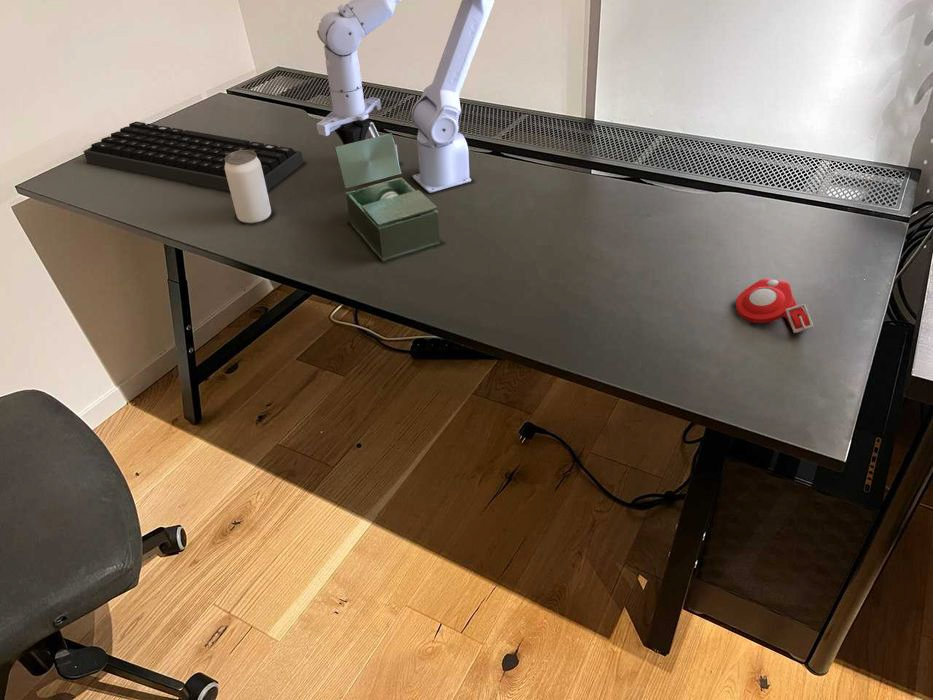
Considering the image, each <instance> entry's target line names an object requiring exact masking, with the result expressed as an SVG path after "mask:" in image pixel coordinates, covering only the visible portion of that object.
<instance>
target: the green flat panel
mask: <svg viewBox="0 0 933 700" xmlns="http://www.w3.org/2000/svg"><path fill="white" fill-rule="evenodd" d="M394 144H395V141H394V137H393V133H392V132H389V133H386V134H382V135H379V136H378V137H374V138H370V139H369V138H367V139H366V138H365V140H362V141H358V142H354V143H349V144H345V145H344V144H341V145H337V146H334V151H335V155H336V159H337V163H338V167H339V170H340V174H341V178H342V182H343V187H344V189H346V190H347V189H350V188H353V187H358V186H361V185H364V184H368V183H372V182H377V181H380V180H384V179H387V178H391V177H394V176H398V175H401V174H402V171H401V167H400V163H399V162H400V161H399V157H398V158H397V153H396V149H395V145H394Z"/></svg>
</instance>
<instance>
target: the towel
mask: <svg viewBox="0 0 933 700" xmlns="http://www.w3.org/2000/svg"><path fill="white" fill-rule="evenodd" d="M398 195H399V194H397V193H396V192H387V193H385V194H384V195H383V196H382V197H381V199H380V201H381V200H384V199H388V198H391V197H395V196H398ZM412 217H413V216H412ZM412 217H408V218H405V219H409V218H412ZM405 219H402V220H405ZM402 220H398V221H402ZM398 221H395V222H398ZM395 222H392V223H395Z"/></svg>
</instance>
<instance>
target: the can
mask: <svg viewBox="0 0 933 700" xmlns="http://www.w3.org/2000/svg"><path fill="white" fill-rule="evenodd" d="M225 161H226V162H225V172H226V176H227V180H228V184H229V188H230V191H229V192H230V196H231V200H232V203H233V208H234V211H235V214H236V219H237V220H239V221H240V222H241V223H244V224H257V223H261V222H264V221H266V220H268V219H269V218H270V216H271V214H272V207H271V203H270V199H269V194H268V193H269V192H268V191H267V189H266V184H265V180H264V175H263V171H262V166H261V162H260V160H259V159H258V158H257V155H256V153H255V152H253V151H250V150H240V151H235V152H232V153H230V154H228V155H227V156H226V157H225Z"/></svg>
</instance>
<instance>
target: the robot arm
mask: <svg viewBox="0 0 933 700" xmlns="http://www.w3.org/2000/svg"><path fill="white" fill-rule="evenodd" d="M402 1H403V0H350V1H349V2H347V3H346V4H344V5H343V4H340V5H339V6H338V7H337V10H338V11H330V12H327V13H325V15H323V16H322V17H321V19H320V20H319V21H320V22H319V23H318V28H317V30H316V33H317V37H318V38H319V40H320V41H321V43H322V44H323V45H324V46H323V48H324V56H325V67H326V74H327V80H328V87H329V93H330V100H331V107H332V110H331V112H330V113H328V114H327V115H326V116H325V117H324V118H323V119H322V120H320V121H318V122H317V123H316V130H317V134H318V135H321V136H324V137H328V136H330V133H331V132H333V131H334V132H335V133H336V135H337V136H338V138H339V139H340V140H341V142H342V145H345V144H349V143H354V142H358V141H362V140H366V138H367V137H366V136H367V131H368V129H369V127H370V123H371V120H370V119H369V117H370V116H369V113H371V112H374V111H380V110H382V104H381V98H378V97H374V96H371V97H368V98H366V99H365V98H364V90H363V83H362V73H361V66H360V59H359V55H358V49H359V47H360V45H361V40H362V39H363V38H365V37H367V35H369V34H370V33H372V32H373V31H375V30H376V29H377V28H378V27H380V26H382V24H384V23H385V22H387V21H388V20H389V19H391V18H392V17H394V14H395V10H396V6H397V4H399V3H400V2H402ZM494 3H495V0H461V2H460V4H459V8H458V11H457V13H456V15H455V19H454V21H453V24H452V27H451V29H450V33H449V35H448V38H447V41H446V44H445V47H444V49H443V52H442V55H441V57H440V61H439V63H438V66H437V69H436V72H435V75H434V78H433V80H432V83H431V84H430V85H428V86H426V88H424V89H423V91H422V94H421V96H420V98H419V99H418V100H417V101H416V102H415V103H414V104H413V107H412V109H411V113H410V114H411V115H410V116H411V121H412V123H413V124H414V126H416V128H417V130H418V131H417V135H416V142H417V155H418V168H419V173H416V174H413V175H412V179H413V180H414V181H416V183H418V184H419V185H420V186H421V187H422V188H423V189H424V190H425V191H426V192H427V193H429V194H431V193H432V194H433V193H436V192H439V191H442V190H445V189H449V188H452V187H456V186H460V185H464V184H467V183H470V182H472V178H471V177H470V157H469V147H468V142H467V140H466V138H465V136H464V134H463V133H461V132H459V129H460V127H459V126H460V125H459V118H460V115H461V112H462V108H461V101H460V94H461V92H462V88H463V86H464V84H465V80H466V78H467V75H468V73H469V70H470V67H471V64H472V62H473V59H474V56H475V55H476V51H477V49H478V46H479V43H480V40H481V38H482V35H483V32H484V30H485V27H486V24H487V22H488V19H489V17H490V14H491V12H492V8H493V6H494Z"/></svg>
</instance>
